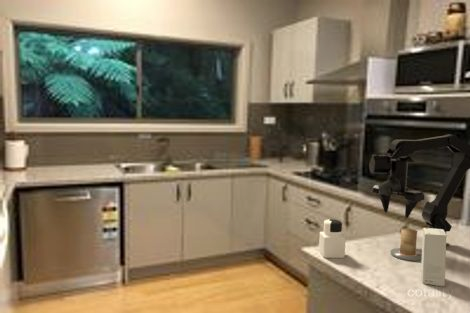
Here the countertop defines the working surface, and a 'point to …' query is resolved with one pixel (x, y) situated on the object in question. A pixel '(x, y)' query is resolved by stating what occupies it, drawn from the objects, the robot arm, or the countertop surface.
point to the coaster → (398, 255)
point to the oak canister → (408, 241)
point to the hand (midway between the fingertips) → (396, 215)
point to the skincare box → (433, 256)
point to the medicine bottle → (332, 240)
